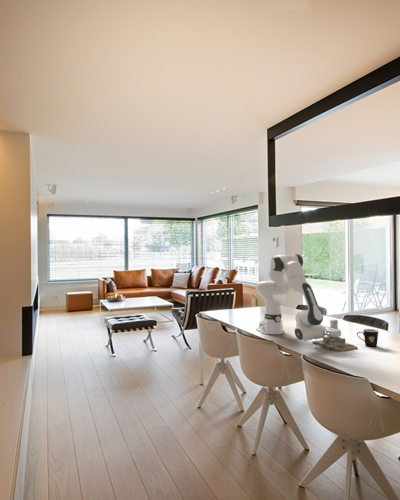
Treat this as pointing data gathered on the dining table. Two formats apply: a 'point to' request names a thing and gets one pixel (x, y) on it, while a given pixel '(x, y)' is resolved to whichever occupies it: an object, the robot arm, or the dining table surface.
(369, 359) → the dining table surface
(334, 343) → the assembly jig
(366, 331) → the coffee mug
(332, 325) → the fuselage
